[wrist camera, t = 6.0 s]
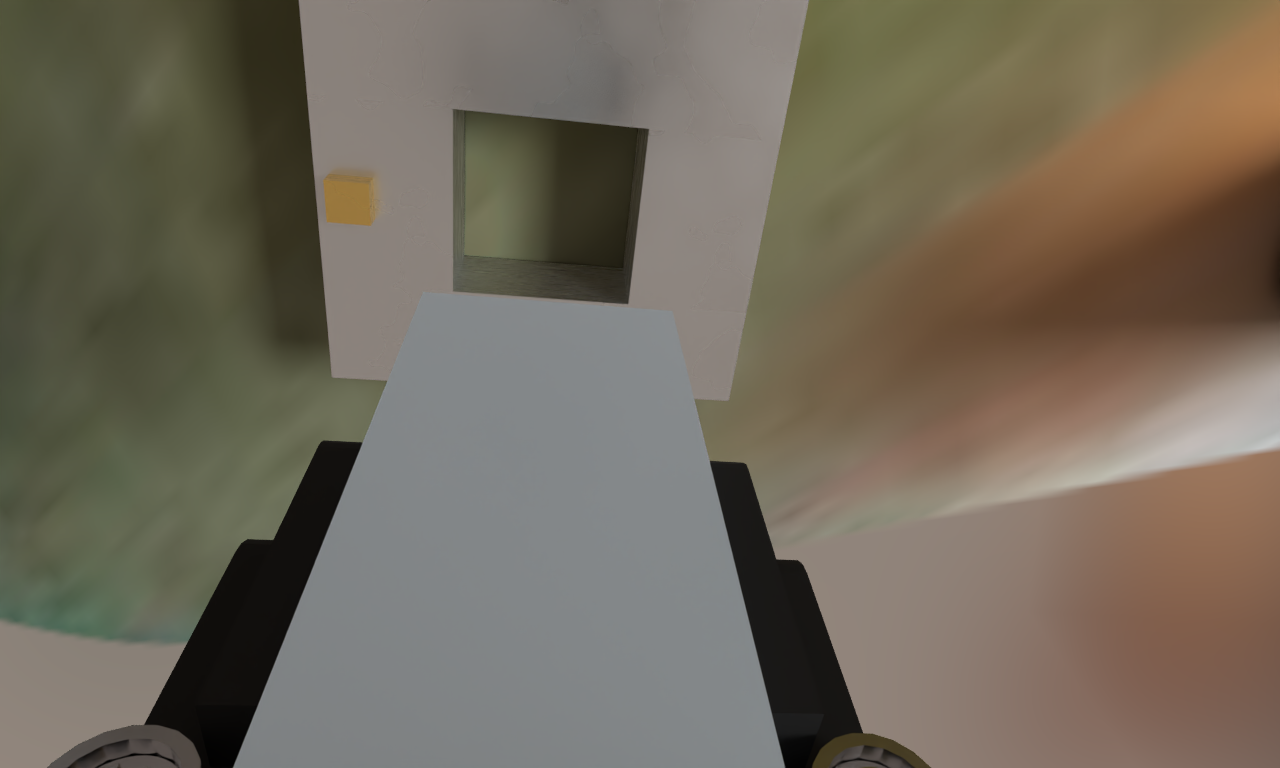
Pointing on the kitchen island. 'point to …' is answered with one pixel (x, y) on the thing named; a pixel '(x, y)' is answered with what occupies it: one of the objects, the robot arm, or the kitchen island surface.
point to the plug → (524, 563)
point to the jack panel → (554, 89)
